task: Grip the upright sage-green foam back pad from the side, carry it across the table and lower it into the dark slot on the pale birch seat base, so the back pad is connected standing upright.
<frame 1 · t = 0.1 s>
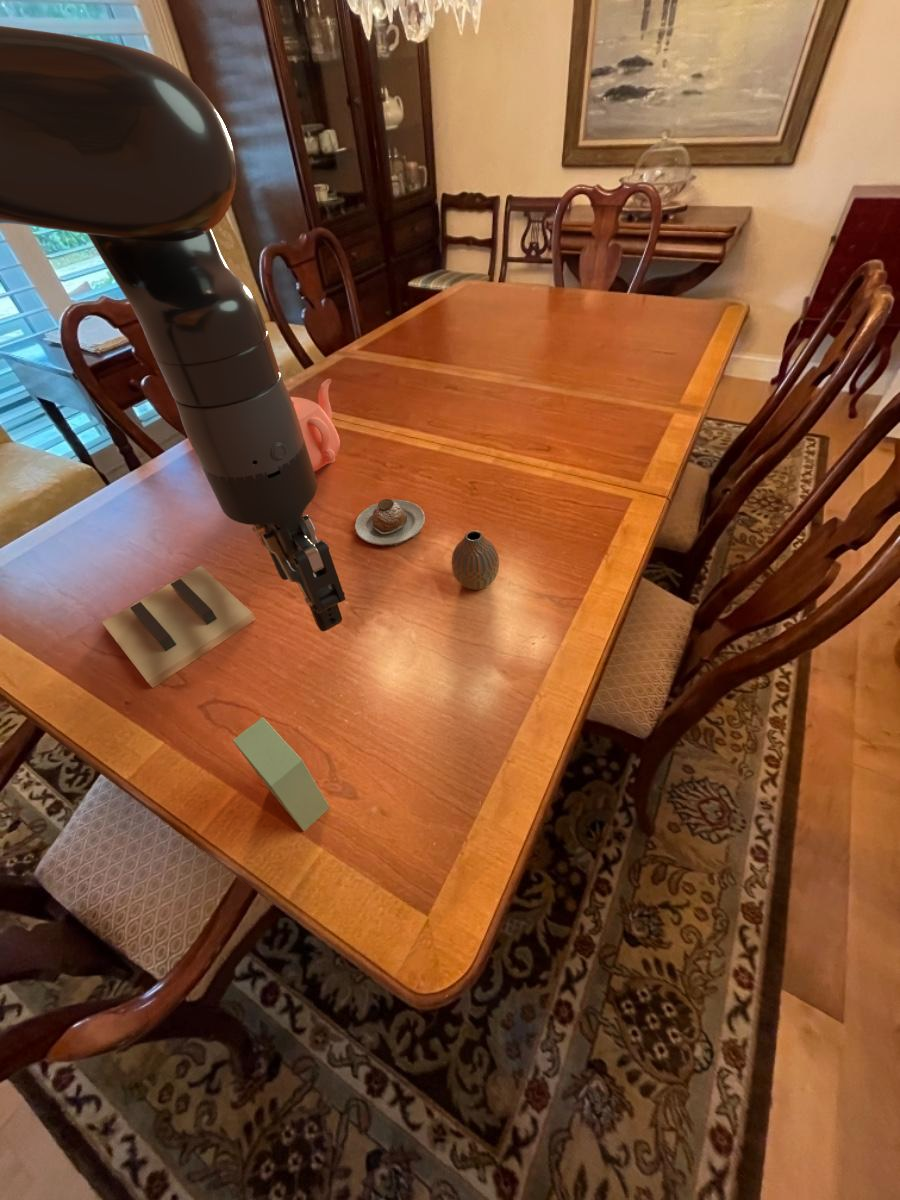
hand: (310, 598, 50), 21 cm above the table, tool pointing down, fingers open, 8 cm apart
teapot: (306, 461, 109), on the table
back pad: (298, 798, 59), on the table
pastry: (391, 527, 91), on the table
vase: (476, 581, 81), on the table
seat base: (181, 624, 79), on the table
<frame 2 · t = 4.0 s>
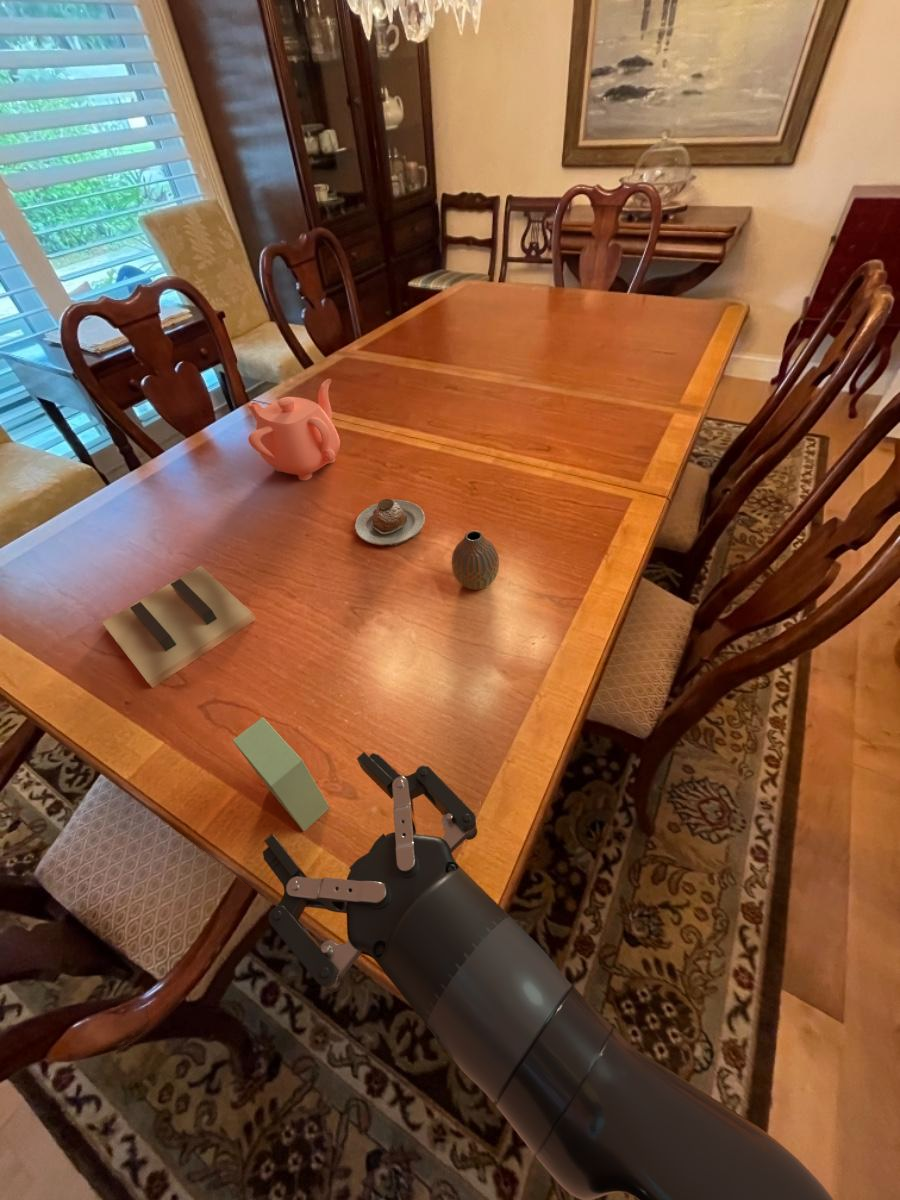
hand: (318, 798, 41), 17 cm above the table, tool horizontal, fingers open, 8 cm apart
nothing on the table moved.
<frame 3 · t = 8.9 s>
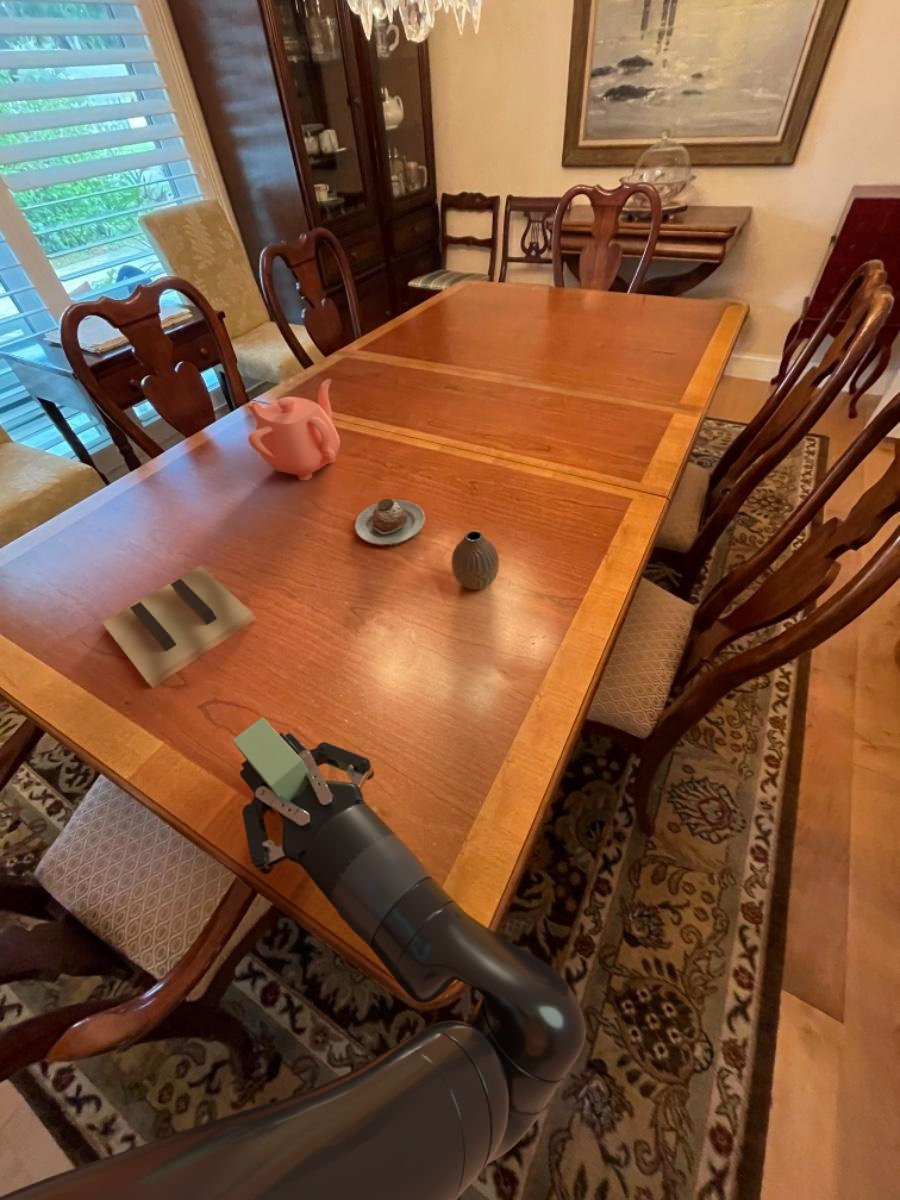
hand: (264, 752, 55), 7 cm above the table, tool horizontal, fingers closed on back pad, 3 cm apart
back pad: (298, 798, 59), on the table, touching gripper
everything else where it was.
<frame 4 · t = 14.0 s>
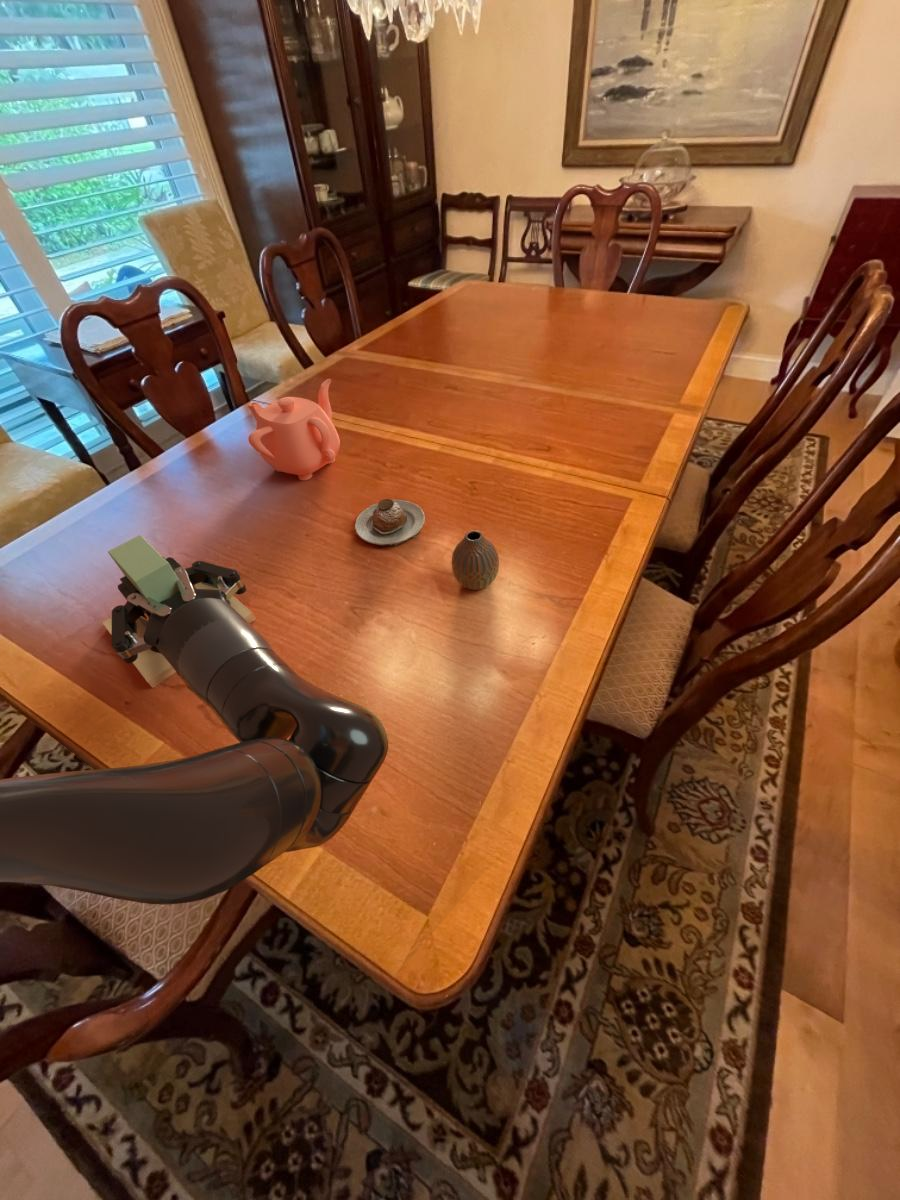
hand: (145, 573, 58), 19 cm above the table, tool horizontal, fingers closed on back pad, 3 cm apart
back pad: (185, 627, 62), point 12 cm above the table, touching gripper
everything else where it was.
when the fingers open (8 cm above the table, at t = 19.3 s): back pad stays where it is, resting on seat base.
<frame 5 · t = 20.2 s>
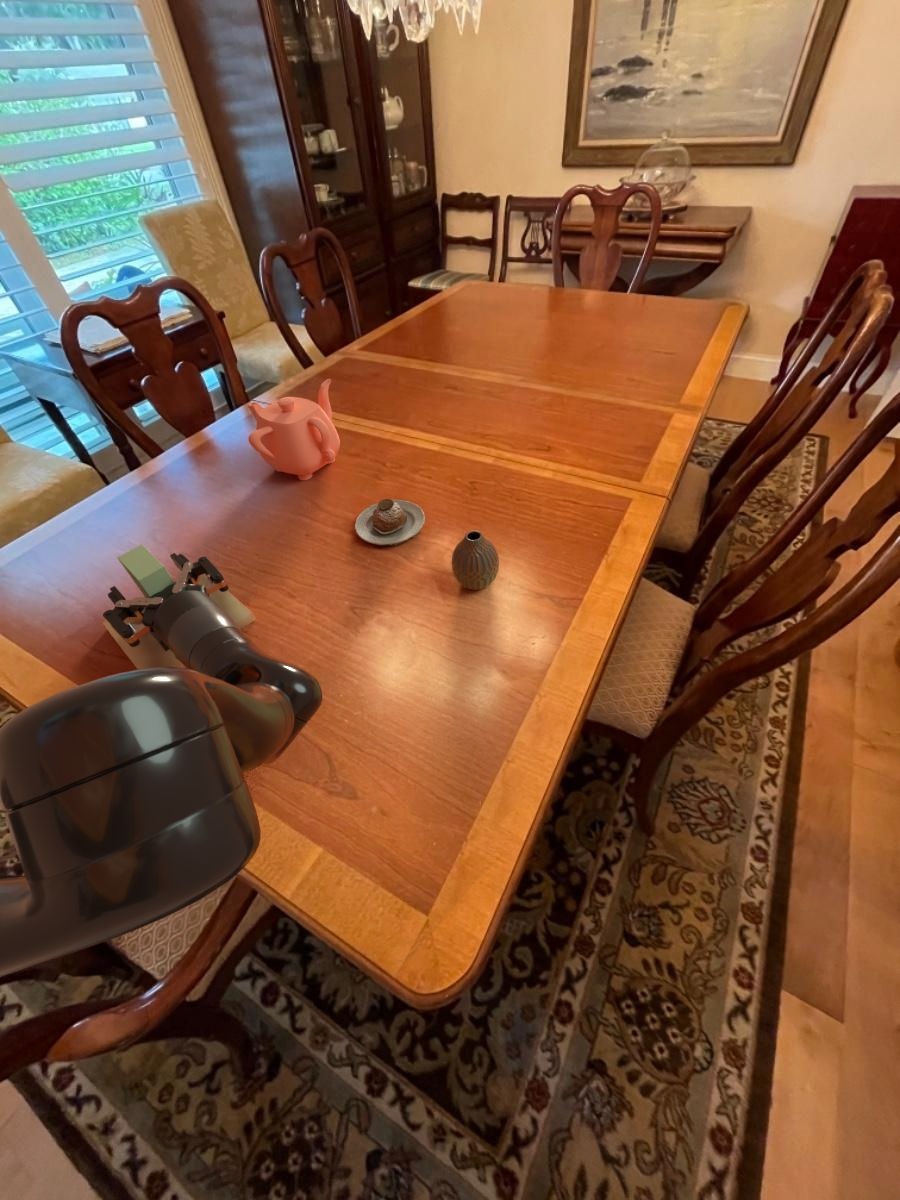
hand: (145, 574, 73), 9 cm above the table, tool horizontal, fingers open, 8 cm apart
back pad: (177, 617, 78), point 1 cm above the table, touching seat base
everything else where it was.
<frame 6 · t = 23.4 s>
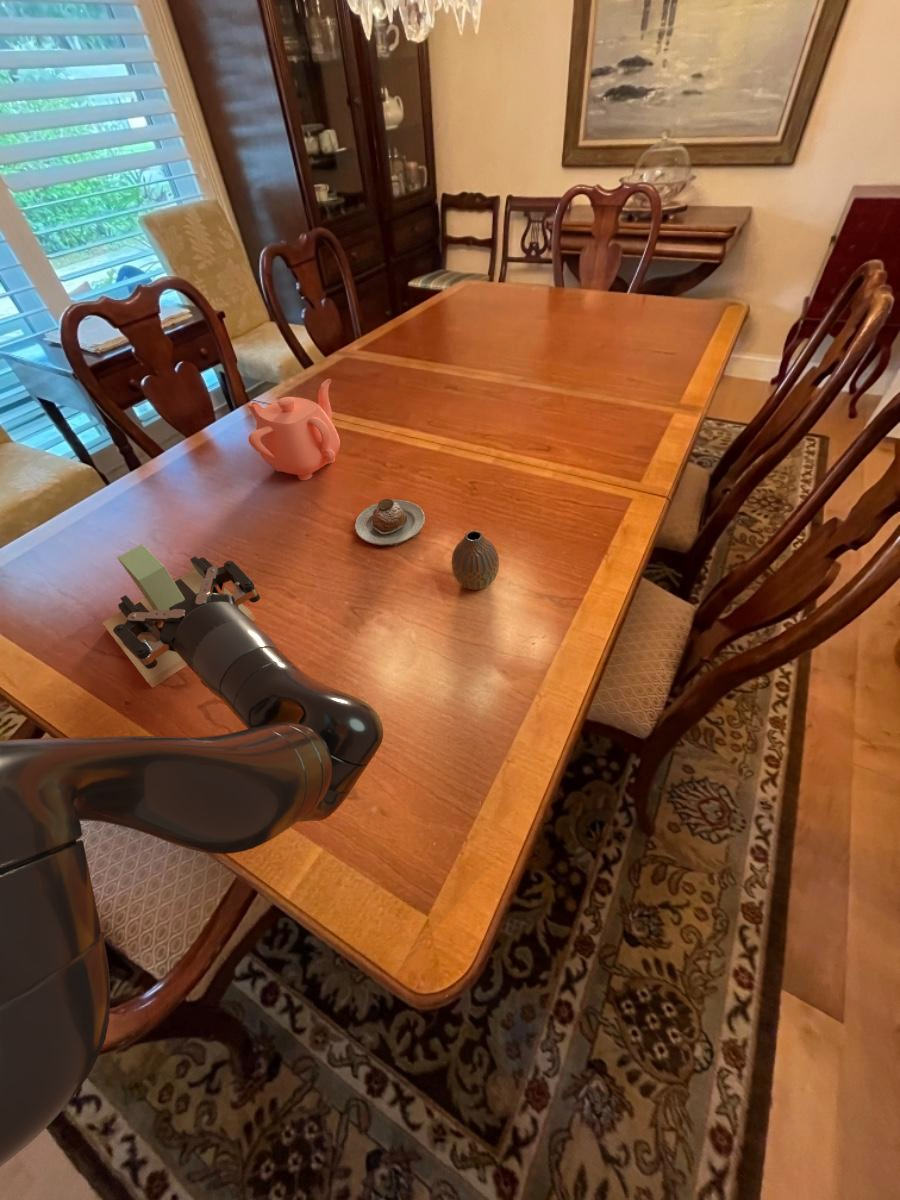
hand: (161, 581, 63), 15 cm above the table, tool horizontal, fingers open, 8 cm apart
nothing on the table moved.
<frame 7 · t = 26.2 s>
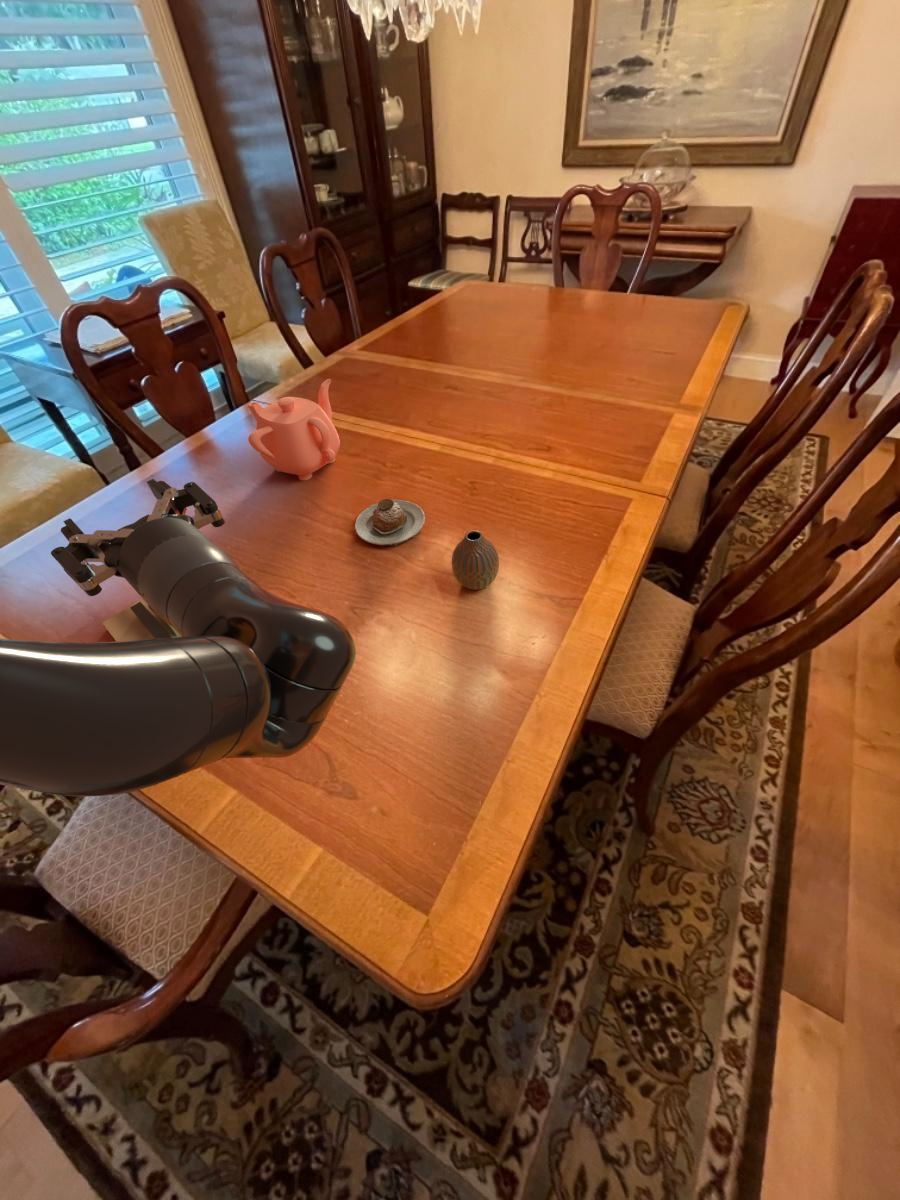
hand: (113, 506, 55), 26 cm above the table, tool horizontal, fingers open, 8 cm apart
nothing on the table moved.
at the end: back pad 0.2 cm off-centre on the seat base, point 1.5 cm above the seat base's base; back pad tilted 0°; the gripper is holding nothing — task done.
